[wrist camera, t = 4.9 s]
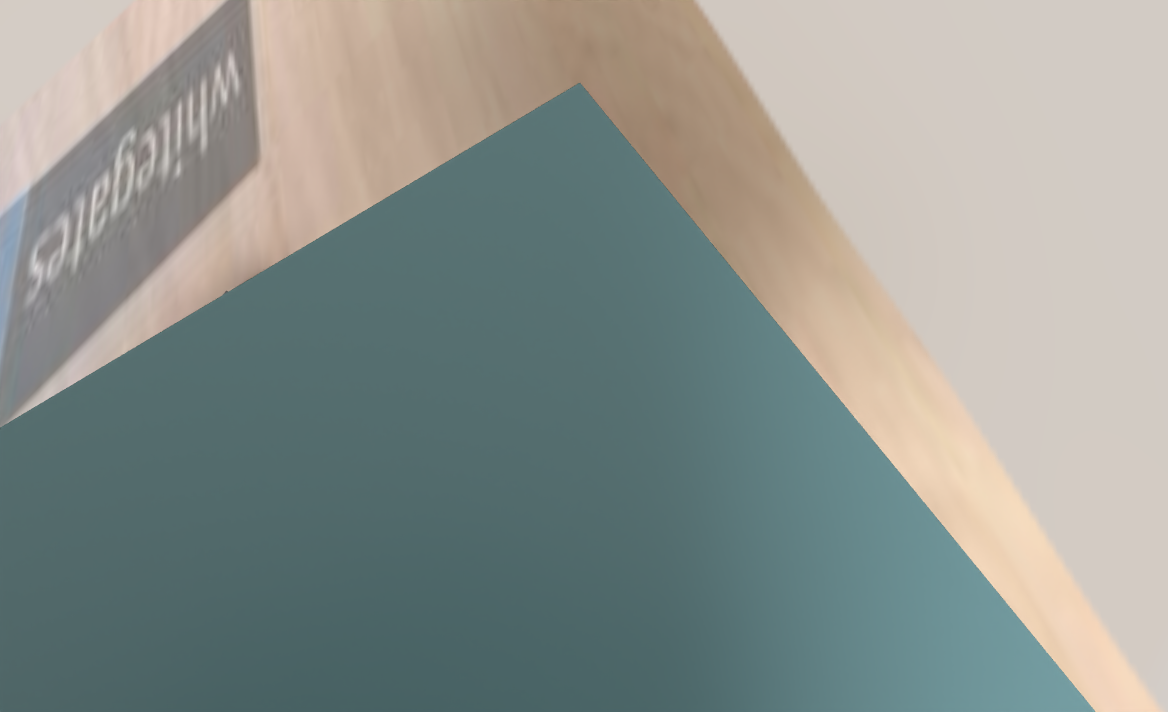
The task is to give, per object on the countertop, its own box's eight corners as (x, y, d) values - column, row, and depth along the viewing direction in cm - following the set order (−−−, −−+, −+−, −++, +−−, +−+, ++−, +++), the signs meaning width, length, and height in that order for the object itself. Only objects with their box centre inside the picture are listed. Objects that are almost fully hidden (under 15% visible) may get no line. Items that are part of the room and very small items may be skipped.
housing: (576, 816, 14) (157, 1699, 2) (459, 601, 16) (-149, 516, 4) (774, 675, 15) (1211, 854, 3) (641, 480, 16) (580, 81, 4)
